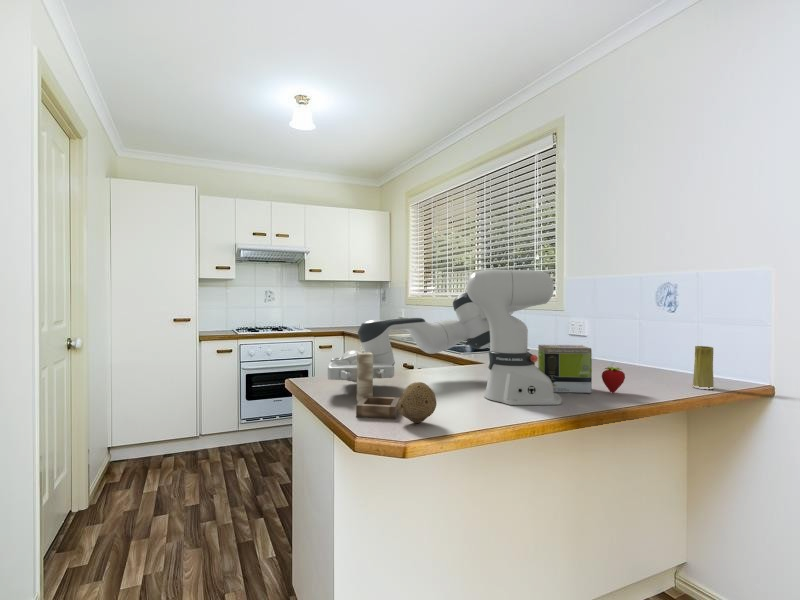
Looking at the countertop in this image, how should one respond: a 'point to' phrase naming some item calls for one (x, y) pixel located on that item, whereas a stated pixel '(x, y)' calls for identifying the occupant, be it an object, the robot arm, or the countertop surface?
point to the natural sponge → (417, 402)
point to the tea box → (567, 367)
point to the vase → (703, 367)
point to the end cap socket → (377, 407)
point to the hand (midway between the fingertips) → (364, 376)
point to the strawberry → (613, 378)
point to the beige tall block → (364, 375)
